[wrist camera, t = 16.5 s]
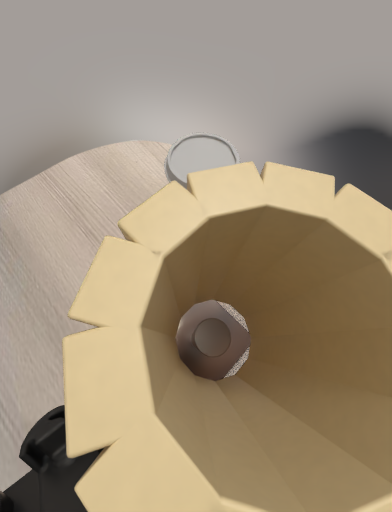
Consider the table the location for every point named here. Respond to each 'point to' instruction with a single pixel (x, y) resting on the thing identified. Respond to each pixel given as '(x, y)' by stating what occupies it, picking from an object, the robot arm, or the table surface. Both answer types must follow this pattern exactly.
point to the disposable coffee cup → (198, 156)
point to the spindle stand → (210, 340)
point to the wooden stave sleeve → (260, 353)
